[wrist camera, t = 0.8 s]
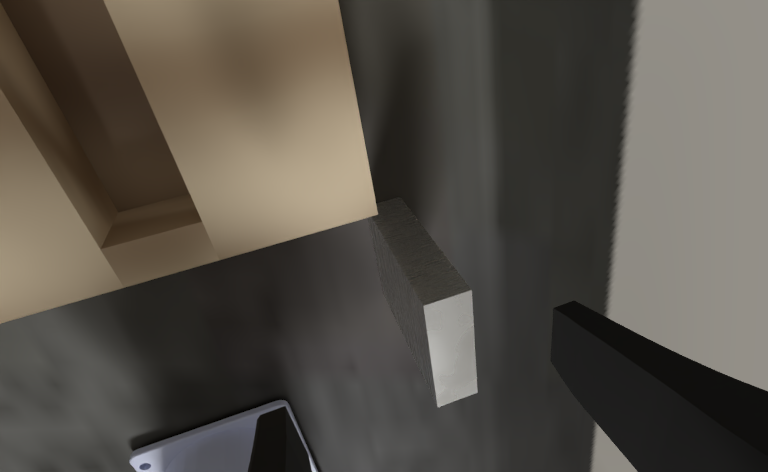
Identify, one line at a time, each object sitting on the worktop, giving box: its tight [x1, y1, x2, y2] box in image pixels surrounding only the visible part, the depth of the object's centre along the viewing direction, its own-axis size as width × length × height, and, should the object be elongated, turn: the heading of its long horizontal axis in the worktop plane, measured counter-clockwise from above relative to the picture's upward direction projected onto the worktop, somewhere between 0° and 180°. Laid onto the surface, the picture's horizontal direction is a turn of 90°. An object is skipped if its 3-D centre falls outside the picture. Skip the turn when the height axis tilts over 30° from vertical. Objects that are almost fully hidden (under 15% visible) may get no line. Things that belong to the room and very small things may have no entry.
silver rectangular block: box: [368, 197, 477, 407], centre depth 18 cm, size 5×2×7 cm, turn 8°
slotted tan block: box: [0, 0, 378, 323], centre depth 13 cm, size 10×14×4 cm
